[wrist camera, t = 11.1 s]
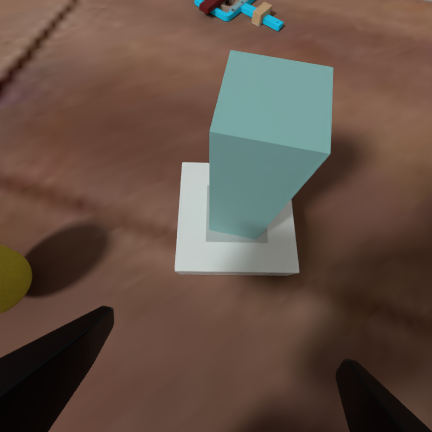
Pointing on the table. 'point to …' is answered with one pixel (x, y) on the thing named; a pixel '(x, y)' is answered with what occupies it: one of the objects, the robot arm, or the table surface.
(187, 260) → the plinth
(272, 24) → the gear mechanism
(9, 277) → the lemon
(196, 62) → the table surface
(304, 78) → the pillar
